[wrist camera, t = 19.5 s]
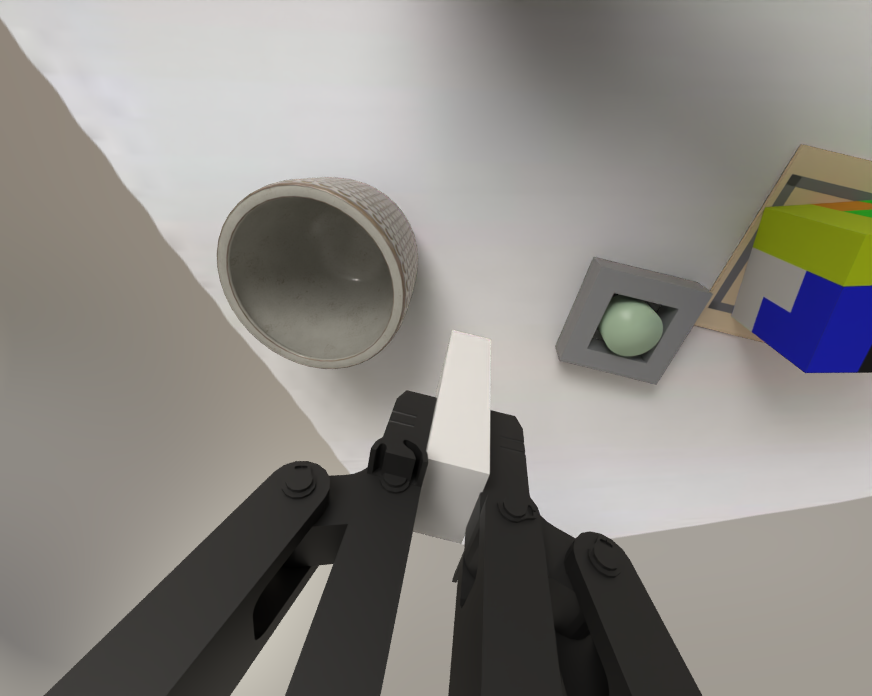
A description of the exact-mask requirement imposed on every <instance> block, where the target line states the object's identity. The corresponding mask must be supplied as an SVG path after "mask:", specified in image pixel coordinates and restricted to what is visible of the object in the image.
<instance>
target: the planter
mask: <svg viewBox="0 0 872 696" xmlns="http://www.w3.org/2000/svg"><path fill="white" fill-rule="evenodd" d="M417 266H418V253H417V244H416V240H415V236H414V233H413V231H412V228H411V226H410V224H409V222H408V220H407V219H406V217H405V215H404V213H403V212H402V211H401V210H400V209H399V207H398V206H397V205H396V204H395V203H394V202H393V201H392V200H391V199H390V198H389V197H388V196H387V195H385V194H384V193H382V192H381V191H379V190H378V189H376V188H374V187H372V186H370V185H368V184H365V183H362V182H359V181H355V180H352V179H344V178H336V177H320V178H306V179H291V180H284V181H280V182H276V183H273V184H269V185H267V186H265V187H262V188H260V189H258V190H256V191H254V192H253V193H251V194H249V195H248V196H247V197H245V198H244V199H243V200H241V201H240V202H239V203H238V204H237V205H236V206H235V208H234V209H233V210H232V211H231V212H230V214H229V215H228V217H227V219H226V221H225V223H224V225H223V227H222V230H221V233H220V236H219V240H218V248H217V267H218V273H219V278H220V282H221V285H222V288H223V291H224V294H225V296H226V298H227V300H228V302H229V304H230V306H231V308H232V310H233V311H234V313H235V314H236V316H237V317H238V319H239V320H240V322H241V323H242V324H243V325H244V326H245V327H246V329H247V330H248V331H249V332H250V333H251V334H252V335H253V336H254V337H255V338H256V339H258V340H259V341H260V342H261V343H262V344H264V345H265V346H266V347H268V348H269V349H270V350H272V351H273V352H275V353H277V354H279V355H281V356H282V357H284V358H286V359H289V360H291V361H293V362H296V363H299V364H302V365H306V366H309V367H315V368H322V369H338V368H346V367H350V366H354V365H357V364H360V363H362V362H364V361H366V360H369V359H371V358H372V357H374V356H375V355H376V354H378V353H379V352H381V351H382V350H383V349H384V348H385V347H386V346H387V344H388V343H389V342H390V341H391V340H392V339H393V337H394V336H395V334H396V333H397V331H398V330H399V328H400V326H401V324H402V322H403V319H404V317H405V315H406V312H407V309H408V306H409V303H410V299H411V296H412V293H413V289H414V285H415V280H416V276H417Z"/></svg>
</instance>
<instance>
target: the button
mask: <svg viewBox="0 0 872 696" xmlns="http://www.w3.org/2000/svg"><path fill="white" fill-rule="evenodd" d="M597 328H598V330H599V332H600V334H601V335H602V337H603V339H604V341H605V343H606V345H607V346H608V348H609V349H610V350H611V351H613V352H614V353H616V354H618V355H622V356H636V355H640V354H643V353H645V352H647V351H649V350H650V349H651V348H653V347H654V346H655V345H656V344H657V343H658V341H659V340H660V338H661V335H662V332H663V324H662V321H661V319H660V317H659V316H658V315H657V314H656V313H655V312H654V310H653V309H652V308H651V307H650V306H649V305H648V304H647V303H646V302H645V301H644V300H641V299H637V298H633V297H629V296H625V295H616V296H614V297H612V298H611V300H610V302H609V304H608V306H607V308H606V310H605V312H604V314H603V316H602V319H601V321H600V323H599V325H598V327H597Z"/></svg>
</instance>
